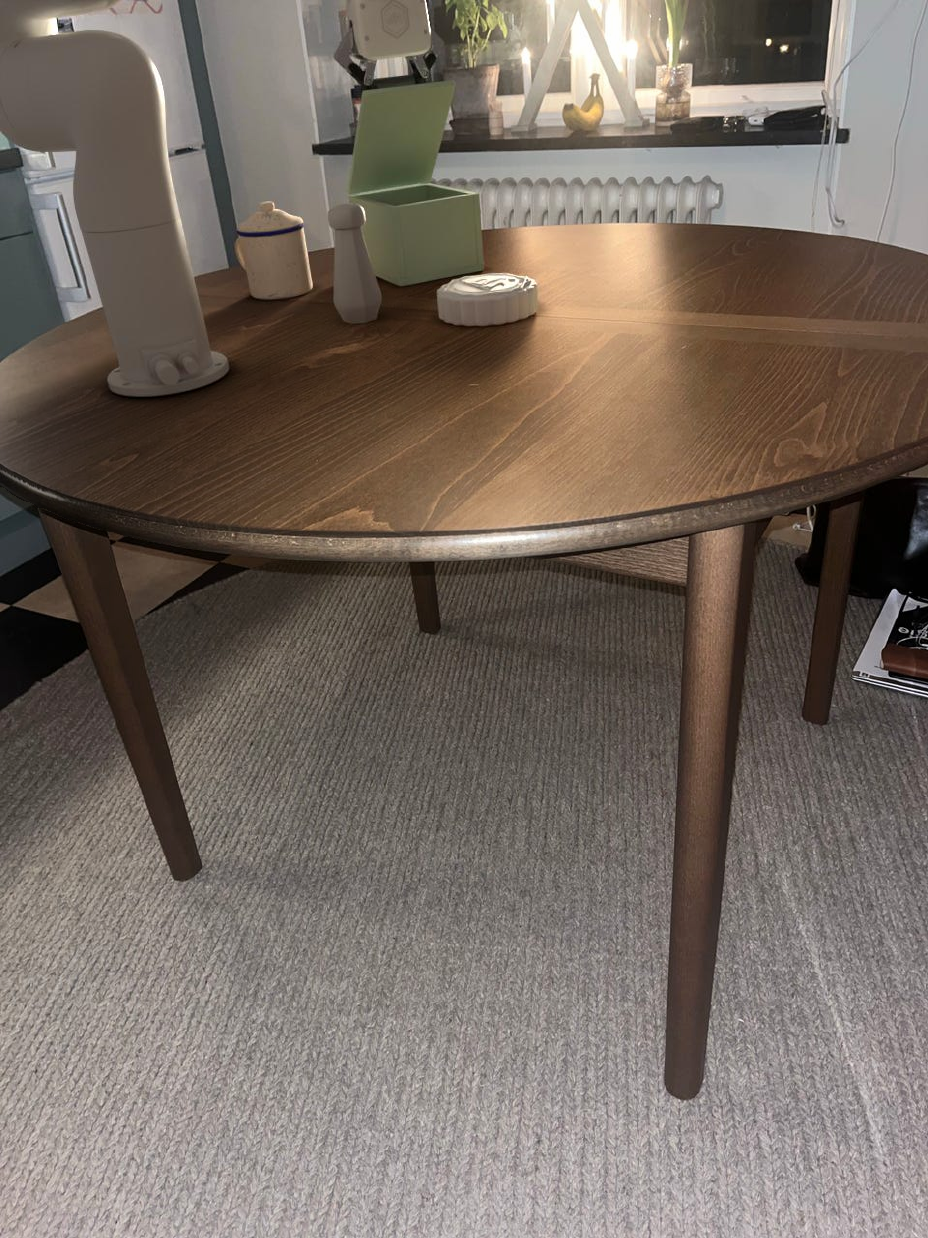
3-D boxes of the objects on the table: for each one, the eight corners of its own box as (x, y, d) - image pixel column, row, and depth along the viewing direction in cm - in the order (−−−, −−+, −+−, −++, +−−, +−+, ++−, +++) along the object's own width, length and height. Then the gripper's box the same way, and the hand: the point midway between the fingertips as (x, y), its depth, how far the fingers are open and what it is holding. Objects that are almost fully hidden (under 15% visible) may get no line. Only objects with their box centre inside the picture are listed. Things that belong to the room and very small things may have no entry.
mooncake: (557, 312, 110) (557, 280, 108) (469, 333, 106) (467, 300, 104) (504, 294, 119) (502, 265, 118) (421, 313, 115) (417, 283, 113)
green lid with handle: (456, 84, 124) (439, 51, 125) (364, 95, 120) (348, 60, 121) (430, 181, 139) (415, 151, 141) (348, 194, 135) (334, 163, 136)
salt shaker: (329, 325, 114) (311, 210, 107) (347, 312, 118) (331, 201, 111) (374, 325, 112) (358, 208, 105) (390, 312, 117) (377, 199, 110)
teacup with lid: (328, 286, 132) (314, 196, 125) (283, 302, 126) (266, 209, 119) (267, 281, 138) (251, 195, 132) (221, 296, 132) (202, 207, 126)
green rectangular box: (484, 269, 132) (479, 193, 127) (400, 286, 128) (391, 207, 123) (436, 253, 145) (429, 182, 140) (358, 268, 140) (348, 195, 135)
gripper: (324, -44, 112) (348, 125, 122) (453, -55, 118) (466, 107, 128) (304, -39, 118) (328, 122, 128) (428, -49, 124) (442, 105, 134)
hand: (397, 113), depth 128 cm, fingers closed on green lid with handle, 6 cm apart
